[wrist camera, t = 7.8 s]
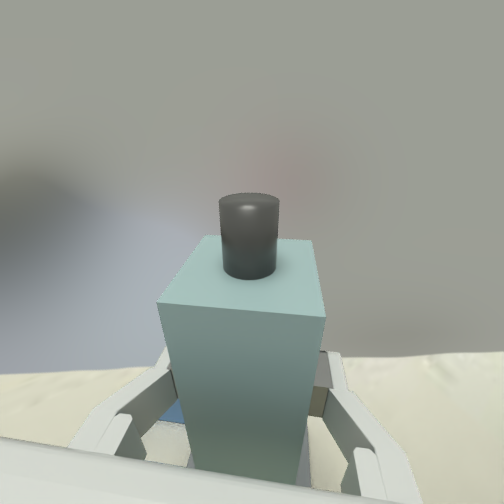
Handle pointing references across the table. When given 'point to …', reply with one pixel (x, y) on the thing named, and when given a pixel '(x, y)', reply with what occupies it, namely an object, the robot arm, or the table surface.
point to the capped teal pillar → (245, 342)
